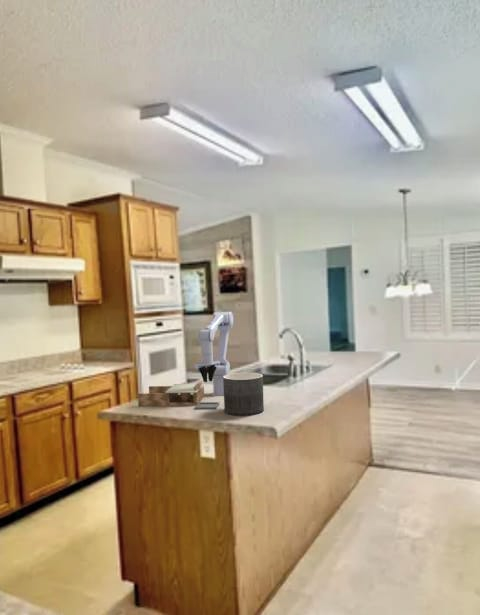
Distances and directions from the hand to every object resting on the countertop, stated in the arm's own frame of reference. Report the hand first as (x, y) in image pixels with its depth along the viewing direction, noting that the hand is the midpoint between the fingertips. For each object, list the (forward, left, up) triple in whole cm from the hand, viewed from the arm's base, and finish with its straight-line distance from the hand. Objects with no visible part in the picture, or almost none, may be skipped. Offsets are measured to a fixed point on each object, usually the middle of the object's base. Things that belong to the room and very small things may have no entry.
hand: (207, 381), depth 240 cm
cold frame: (+18, 0, -10) cm, 21 cm away
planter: (-19, +19, -10) cm, 29 cm away
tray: (-1, +12, -10) cm, 16 cm away
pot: (+12, 0, -10) cm, 15 cm away
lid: (+11, 0, -4) cm, 12 cm away
